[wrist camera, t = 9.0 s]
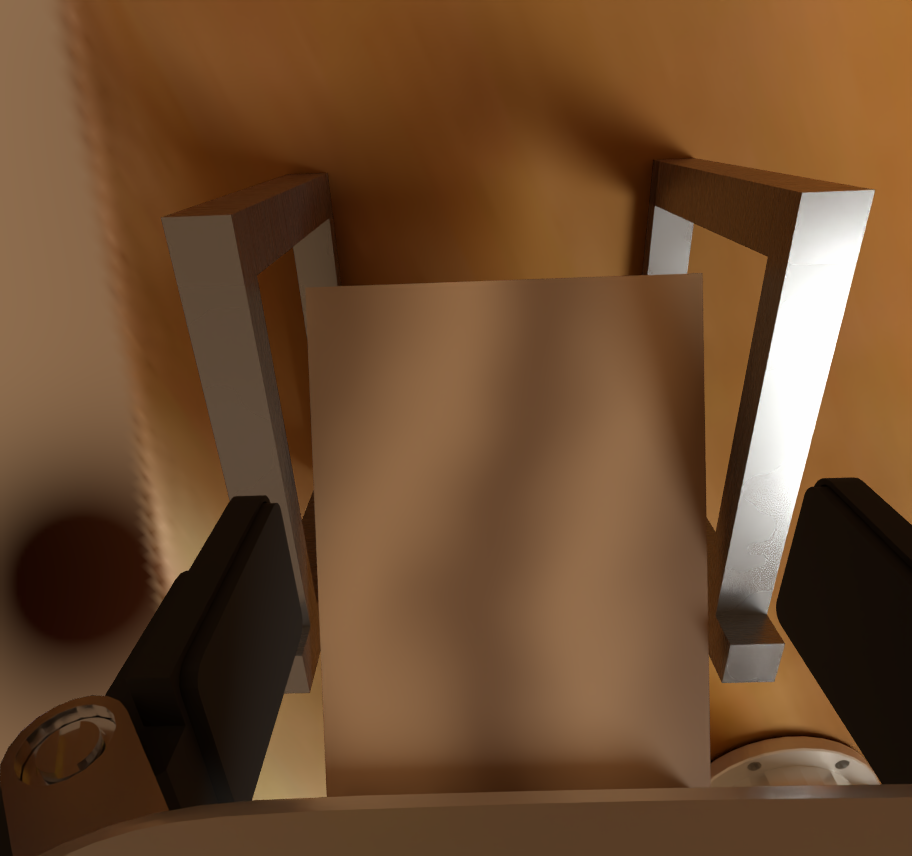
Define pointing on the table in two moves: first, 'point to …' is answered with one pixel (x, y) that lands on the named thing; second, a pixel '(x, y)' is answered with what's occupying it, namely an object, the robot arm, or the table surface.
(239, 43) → the table surface
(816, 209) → the frame
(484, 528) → the trapdoor
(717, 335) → the table surface
